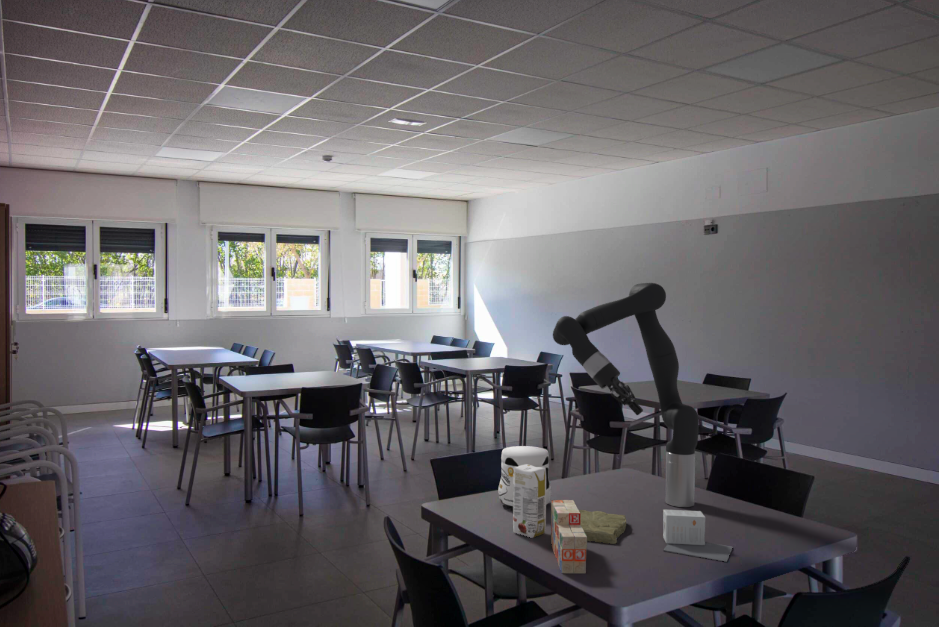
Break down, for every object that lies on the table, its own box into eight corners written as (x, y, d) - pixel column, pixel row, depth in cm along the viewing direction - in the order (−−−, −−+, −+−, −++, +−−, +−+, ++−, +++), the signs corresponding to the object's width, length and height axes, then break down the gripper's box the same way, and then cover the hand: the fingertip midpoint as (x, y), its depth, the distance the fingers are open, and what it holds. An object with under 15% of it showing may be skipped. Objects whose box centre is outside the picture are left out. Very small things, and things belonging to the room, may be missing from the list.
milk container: (487, 504, 221) (487, 450, 221) (523, 495, 233) (523, 443, 232) (526, 517, 208) (526, 459, 208) (562, 506, 220) (562, 451, 220)
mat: (672, 537, 191) (672, 536, 191) (732, 547, 183) (732, 546, 183) (663, 551, 180) (663, 549, 180) (726, 562, 173) (726, 561, 173)
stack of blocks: (586, 574, 165) (587, 524, 164) (561, 574, 165) (561, 524, 164) (572, 543, 186) (573, 499, 186) (550, 543, 186) (550, 499, 186)
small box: (662, 536, 190) (700, 539, 189) (665, 543, 185) (705, 546, 184) (663, 508, 190) (701, 510, 189) (666, 514, 185) (706, 517, 183)
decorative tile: (553, 538, 191) (553, 526, 191) (567, 517, 209) (567, 506, 209) (620, 547, 184) (620, 534, 184) (628, 525, 203) (629, 513, 203)
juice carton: (533, 540, 188) (533, 472, 188) (509, 532, 194) (509, 467, 193) (549, 533, 193) (549, 467, 193) (525, 526, 199) (526, 462, 199)
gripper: (603, 363, 199) (644, 407, 193) (615, 360, 210) (654, 402, 205) (585, 379, 201) (625, 424, 195) (599, 376, 213) (637, 418, 207)
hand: (640, 413), depth 200 cm, fingers closed
